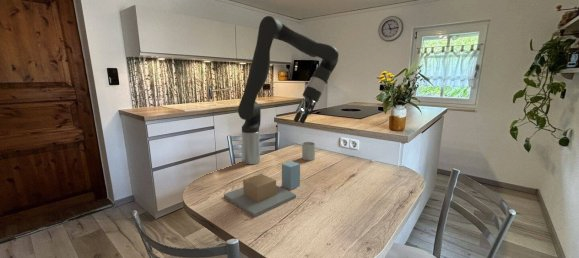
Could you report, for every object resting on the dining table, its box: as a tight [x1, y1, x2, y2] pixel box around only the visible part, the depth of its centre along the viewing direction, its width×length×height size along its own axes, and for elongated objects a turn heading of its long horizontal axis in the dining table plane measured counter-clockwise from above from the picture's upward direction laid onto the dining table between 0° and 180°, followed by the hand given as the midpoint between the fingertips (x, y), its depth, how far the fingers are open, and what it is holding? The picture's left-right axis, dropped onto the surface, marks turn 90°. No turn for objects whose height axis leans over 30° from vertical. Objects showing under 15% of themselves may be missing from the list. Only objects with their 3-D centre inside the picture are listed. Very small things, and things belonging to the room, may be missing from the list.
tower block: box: [281, 160, 301, 191], centre depth 108 cm, size 6×6×10 cm
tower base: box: [223, 173, 297, 218], centre depth 98 cm, size 20×20×7 cm
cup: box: [301, 141, 316, 161], centre depth 145 cm, size 7×10×9 cm
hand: (298, 122), depth 112 cm, fingers open, 8 cm apart
